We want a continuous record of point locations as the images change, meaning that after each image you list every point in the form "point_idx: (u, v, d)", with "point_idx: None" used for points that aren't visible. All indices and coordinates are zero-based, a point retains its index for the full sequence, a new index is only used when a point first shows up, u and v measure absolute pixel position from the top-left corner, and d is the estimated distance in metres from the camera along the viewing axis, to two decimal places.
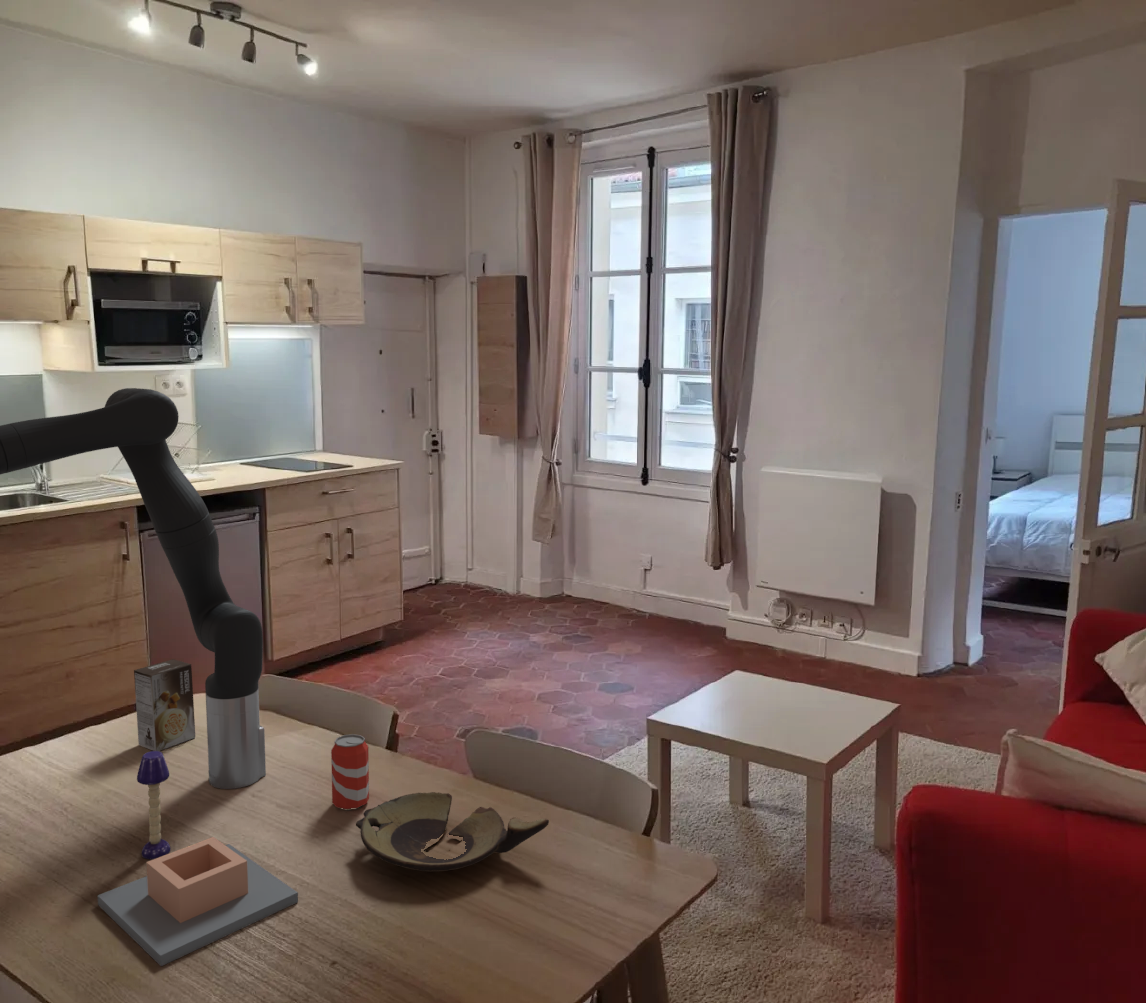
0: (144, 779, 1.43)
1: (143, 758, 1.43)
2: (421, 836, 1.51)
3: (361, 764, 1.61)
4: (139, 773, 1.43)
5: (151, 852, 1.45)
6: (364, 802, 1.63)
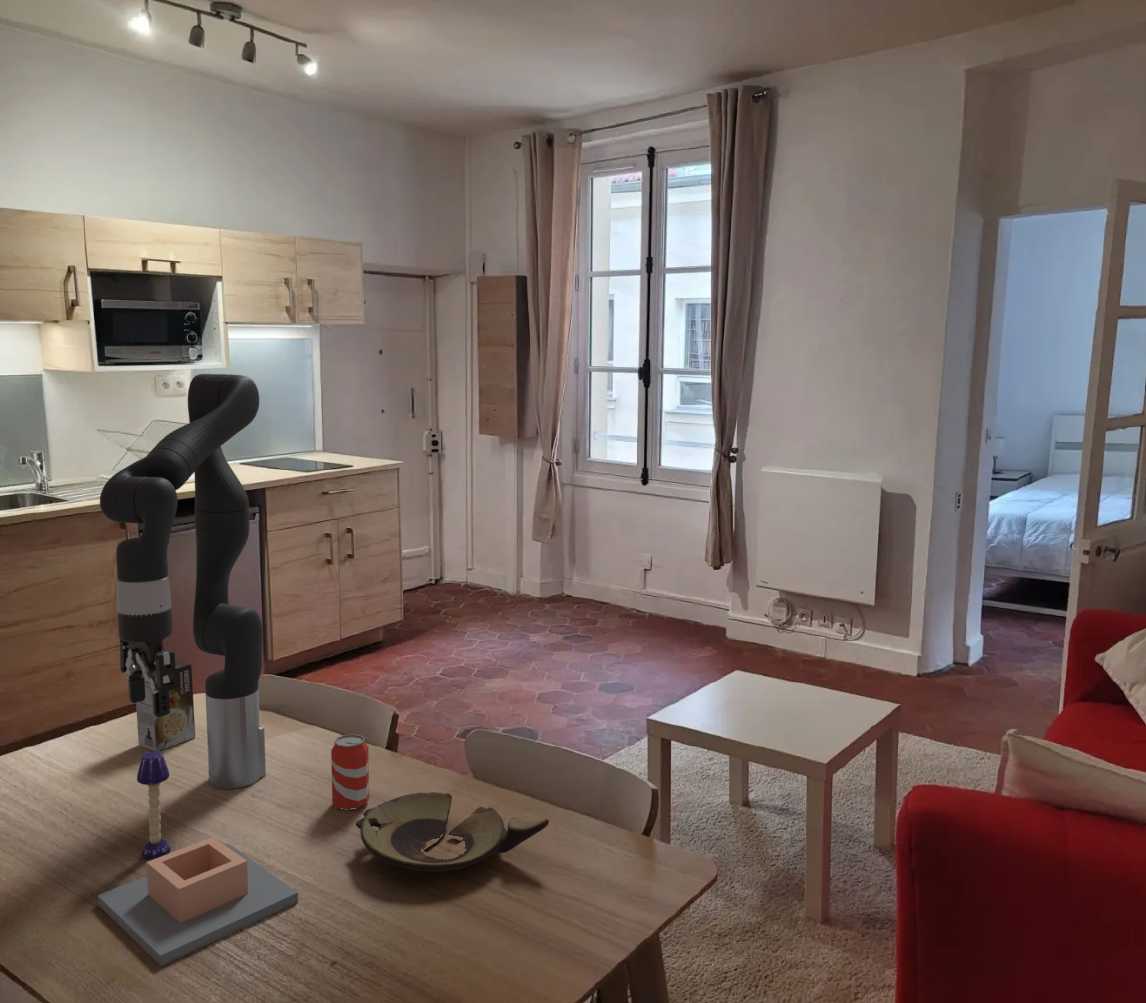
0: (144, 779, 1.43)
1: (143, 758, 1.43)
2: (421, 836, 1.51)
3: (361, 764, 1.61)
4: (139, 773, 1.43)
5: (151, 852, 1.45)
6: (364, 802, 1.63)
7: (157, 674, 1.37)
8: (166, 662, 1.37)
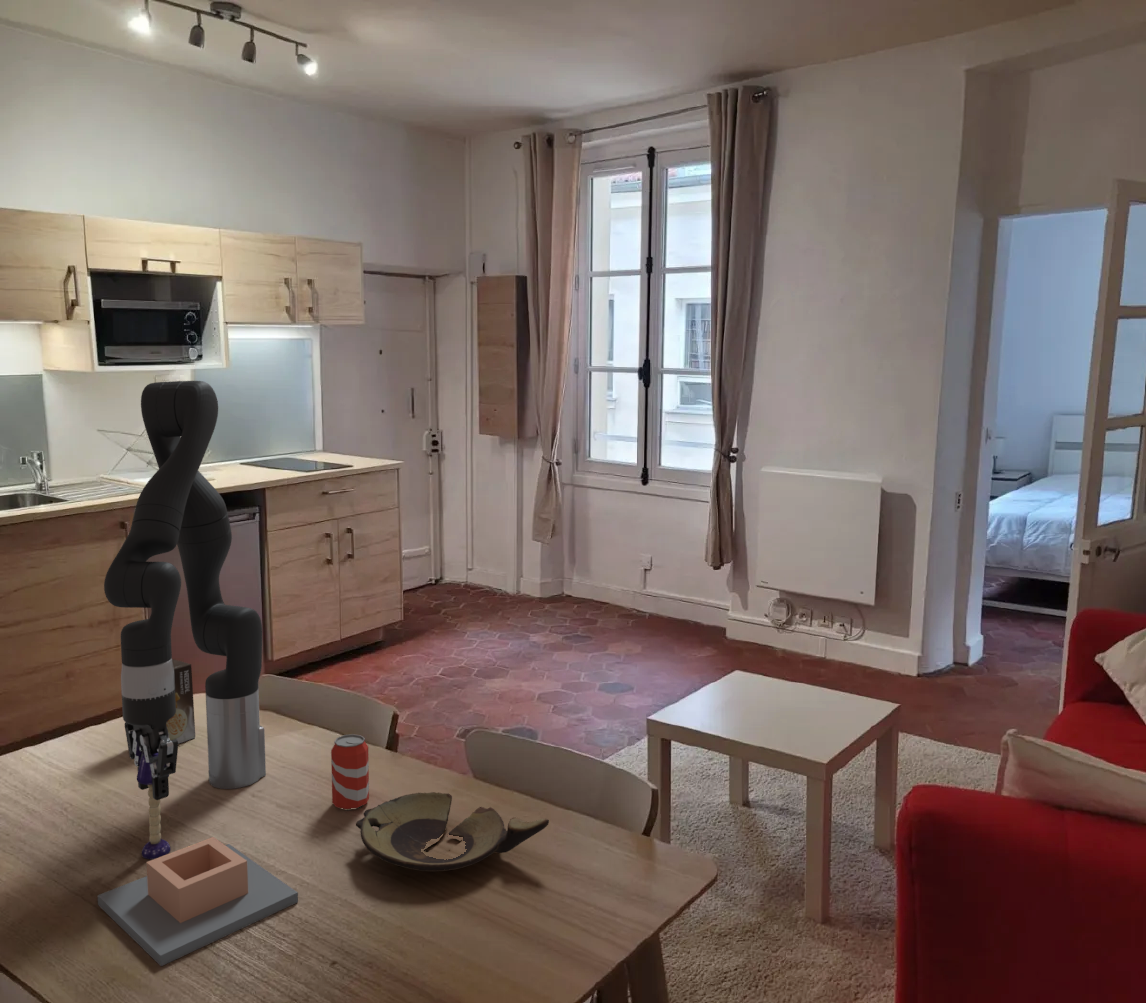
0: (143, 779, 1.43)
1: (143, 758, 1.43)
2: (421, 836, 1.51)
3: (361, 764, 1.61)
4: (139, 773, 1.43)
5: (151, 852, 1.45)
6: (364, 802, 1.63)
7: (158, 761, 1.40)
8: (169, 752, 1.40)
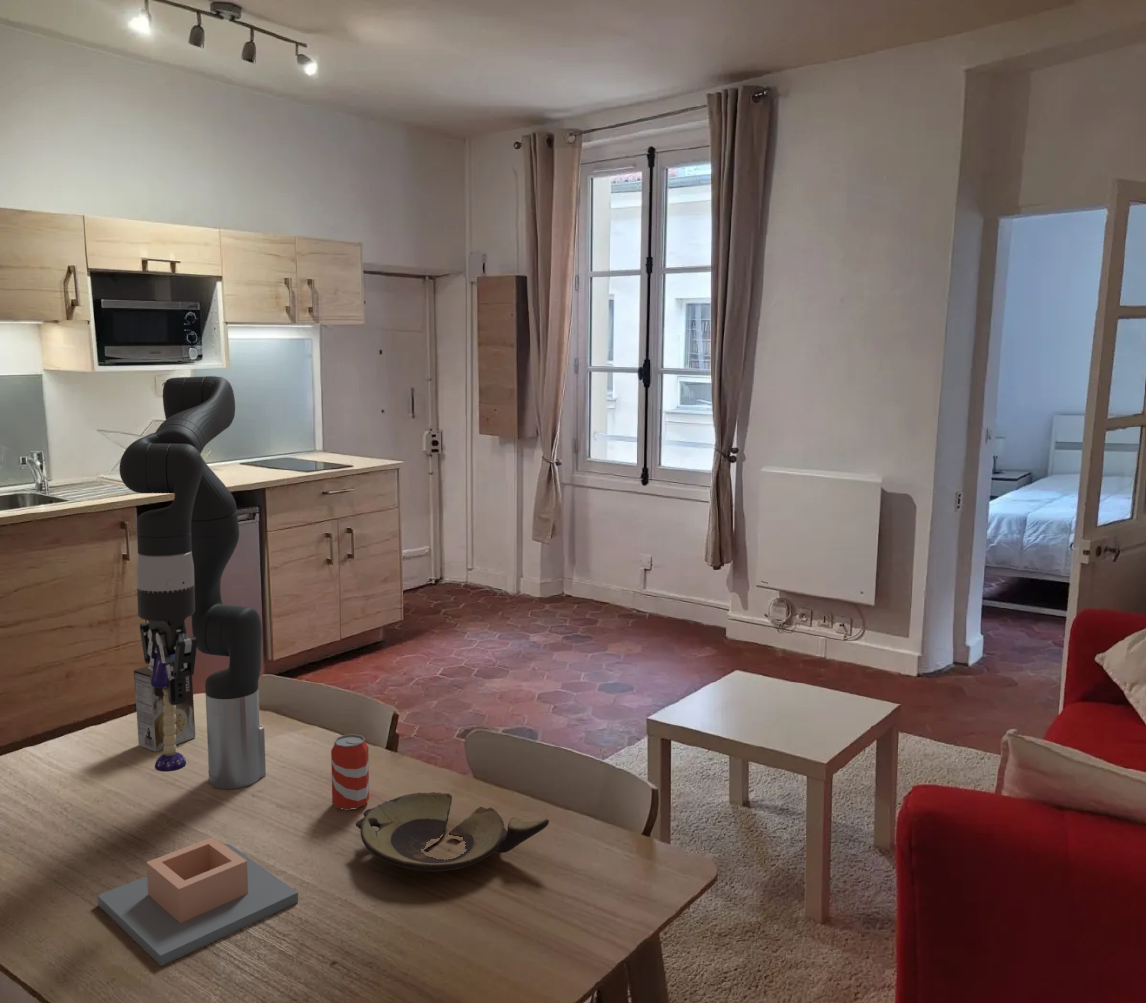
0: (158, 682, 1.31)
1: (158, 659, 1.32)
2: (421, 836, 1.51)
3: (361, 764, 1.61)
4: (153, 676, 1.32)
5: (165, 764, 1.33)
6: (364, 802, 1.63)
7: (175, 660, 1.28)
8: (187, 650, 1.28)
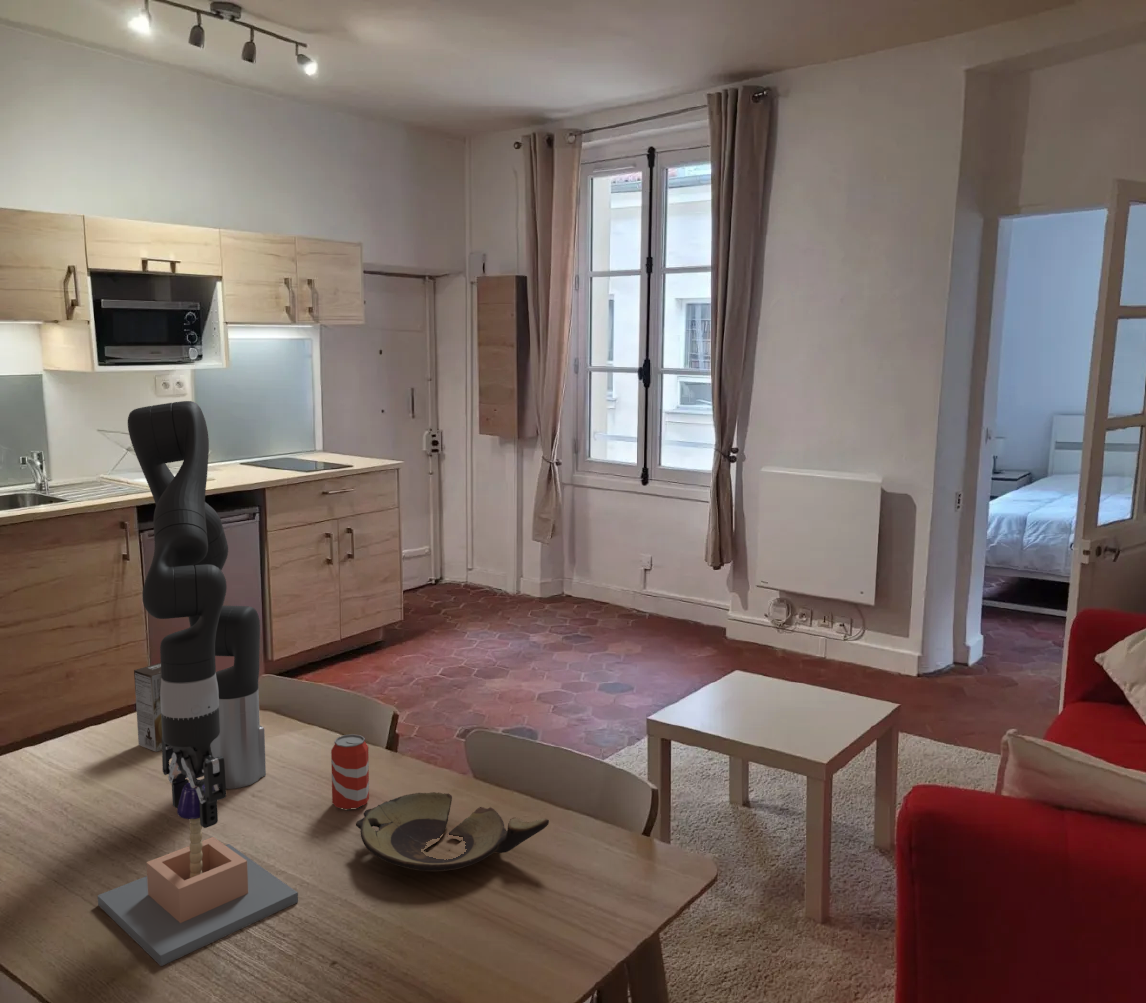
0: (185, 813, 1.29)
1: (184, 789, 1.30)
2: (421, 836, 1.51)
3: (361, 764, 1.61)
4: (180, 806, 1.30)
5: None
6: (364, 802, 1.63)
7: (205, 783, 1.25)
8: (215, 770, 1.26)
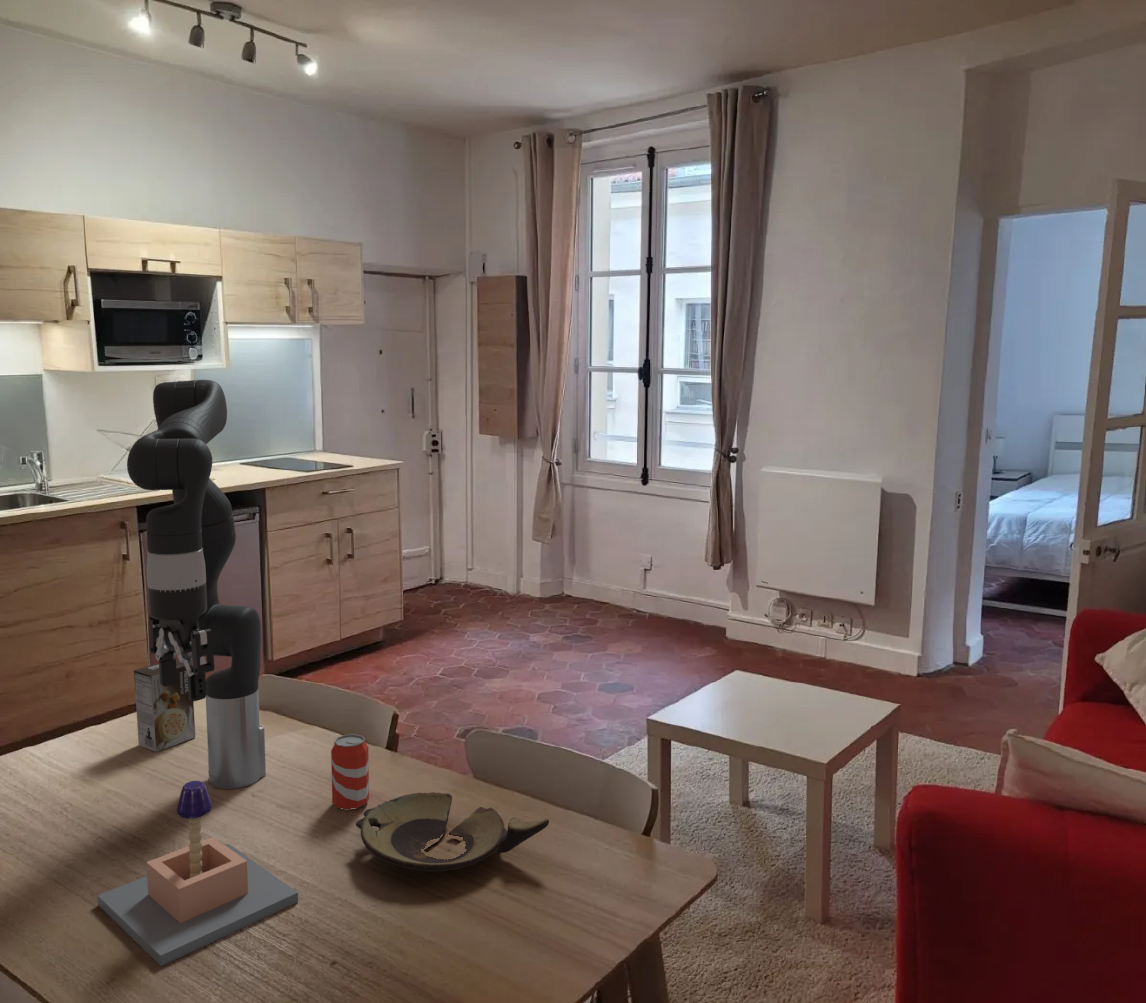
0: (185, 813, 1.29)
1: (184, 789, 1.30)
2: (421, 836, 1.51)
3: (361, 764, 1.61)
4: (179, 806, 1.30)
5: None
6: (364, 802, 1.63)
7: (193, 655, 1.25)
8: (203, 642, 1.26)
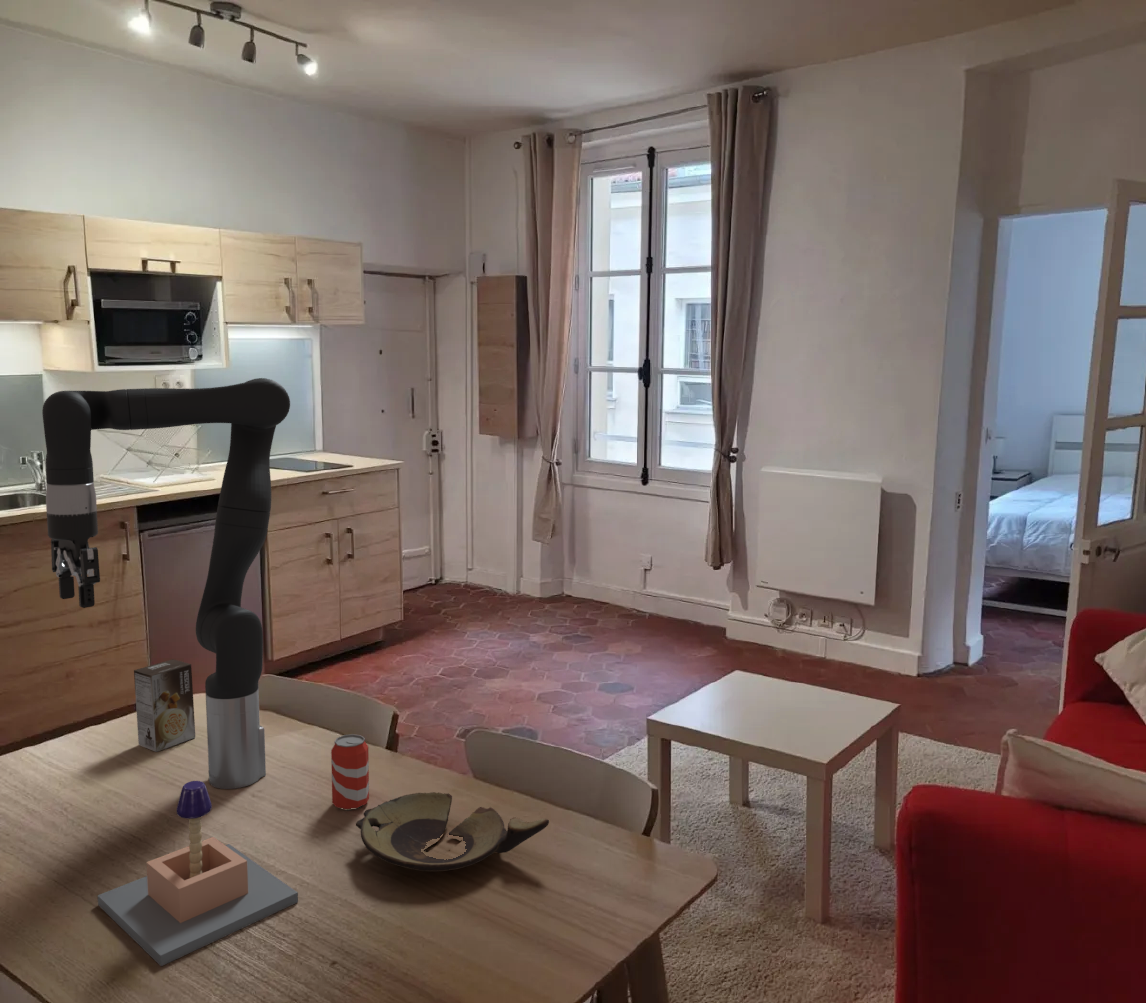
0: (185, 813, 1.29)
1: (184, 789, 1.30)
2: (421, 836, 1.51)
3: (361, 764, 1.61)
4: (179, 806, 1.30)
5: None
6: (364, 802, 1.63)
7: (82, 568, 1.53)
8: (90, 557, 1.53)
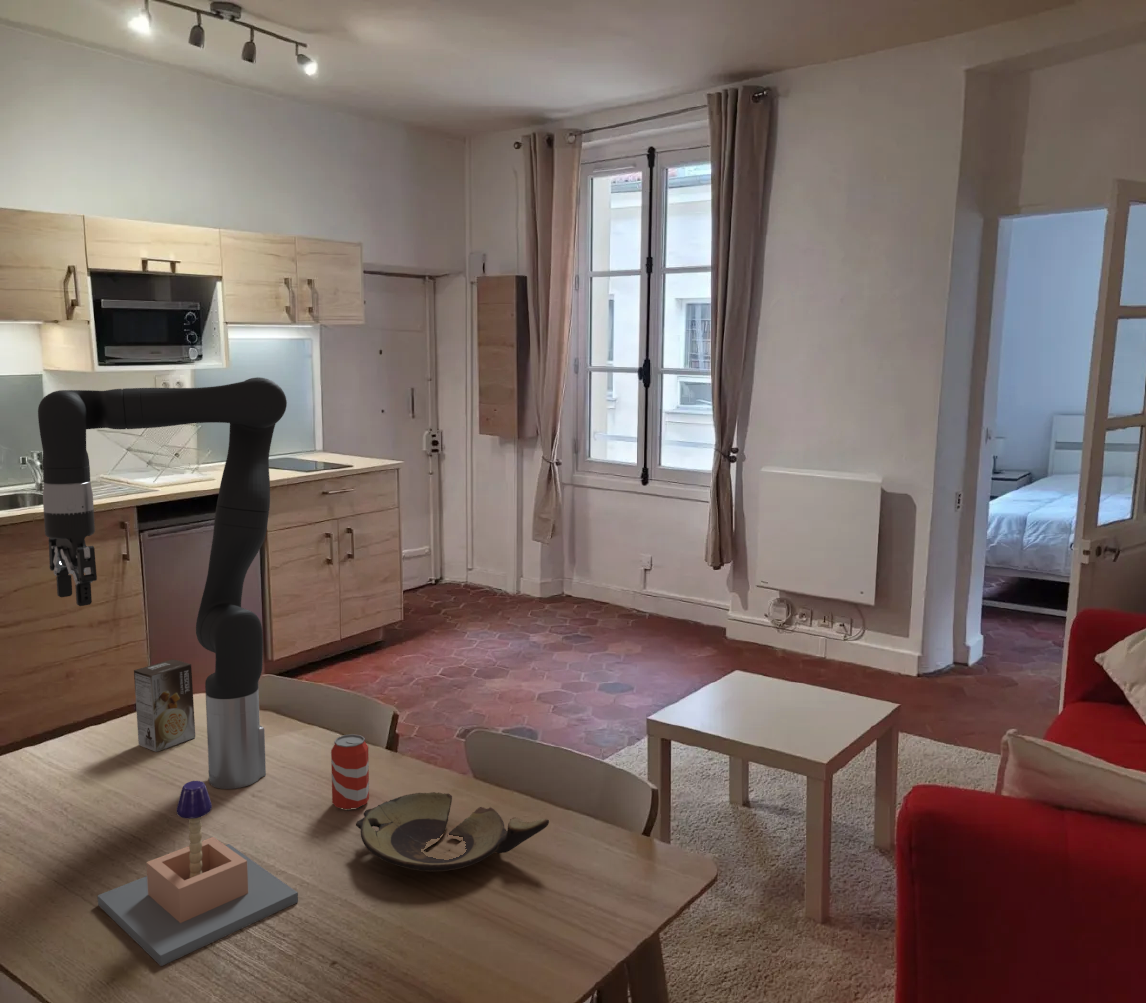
0: (185, 813, 1.29)
1: (184, 789, 1.30)
2: (421, 836, 1.51)
3: (361, 764, 1.61)
4: (179, 806, 1.30)
5: None
6: (364, 802, 1.63)
7: (78, 566, 1.54)
8: (86, 555, 1.54)
